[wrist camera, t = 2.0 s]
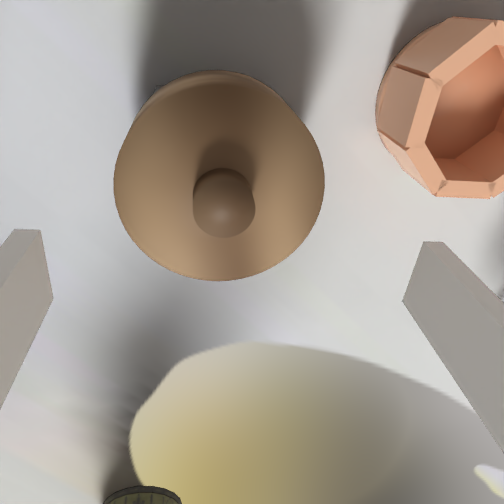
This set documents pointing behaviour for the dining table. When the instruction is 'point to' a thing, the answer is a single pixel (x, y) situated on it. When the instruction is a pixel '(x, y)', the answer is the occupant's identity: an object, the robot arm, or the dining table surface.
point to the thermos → (143, 496)
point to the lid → (218, 177)
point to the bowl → (448, 108)
